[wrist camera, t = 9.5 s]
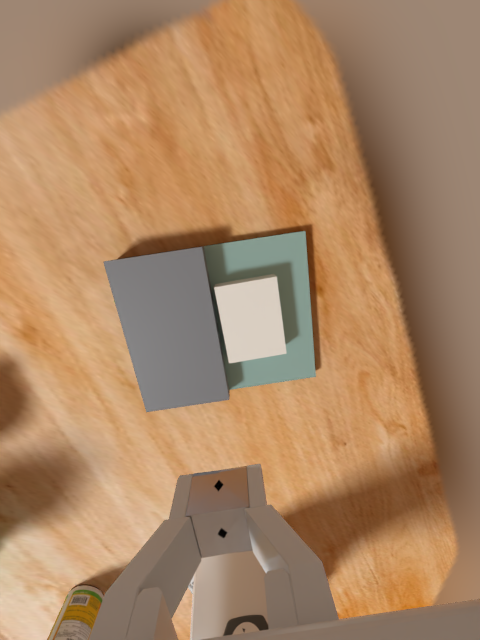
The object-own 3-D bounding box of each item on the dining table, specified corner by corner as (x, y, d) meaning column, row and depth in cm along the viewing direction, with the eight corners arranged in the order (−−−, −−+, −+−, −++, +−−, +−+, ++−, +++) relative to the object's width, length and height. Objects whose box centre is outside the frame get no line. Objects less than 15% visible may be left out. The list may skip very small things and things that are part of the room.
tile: (282, 346, 30) (286, 353, 28) (228, 355, 30) (229, 363, 28) (273, 273, 27) (276, 276, 26) (215, 284, 27) (214, 287, 26)
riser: (229, 385, 32) (229, 399, 29) (153, 396, 32) (146, 412, 29) (204, 246, 27) (201, 246, 24) (116, 259, 27) (103, 261, 24)
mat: (313, 372, 32) (315, 376, 31) (229, 385, 32) (229, 389, 31) (302, 231, 27) (305, 230, 26) (204, 246, 27) (203, 246, 26)
